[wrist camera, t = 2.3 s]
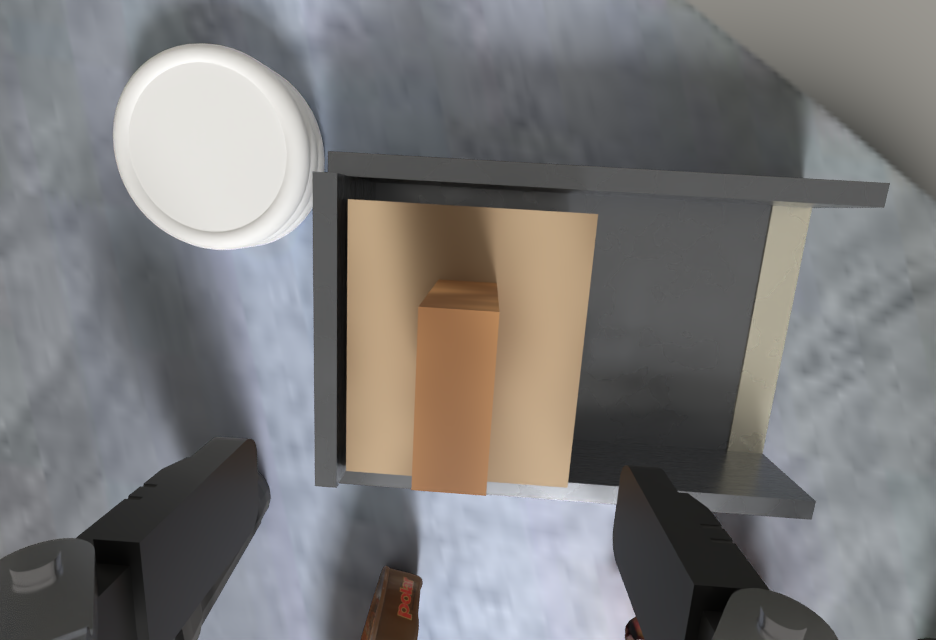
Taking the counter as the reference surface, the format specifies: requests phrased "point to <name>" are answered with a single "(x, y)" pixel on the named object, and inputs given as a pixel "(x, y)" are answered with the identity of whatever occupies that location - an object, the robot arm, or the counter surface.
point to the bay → (619, 314)
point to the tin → (394, 607)
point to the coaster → (217, 147)
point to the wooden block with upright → (465, 342)
